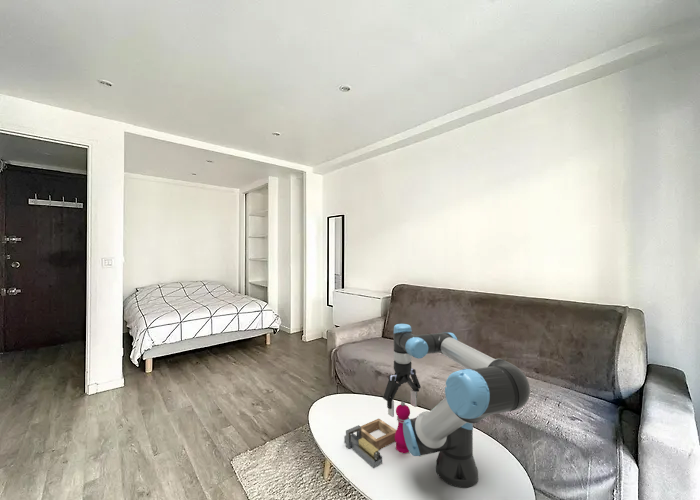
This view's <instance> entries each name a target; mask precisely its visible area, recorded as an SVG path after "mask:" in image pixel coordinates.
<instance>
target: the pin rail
mask: <svg viewBox="0 0 700 500" xmlns="http://www.w3.org/2000/svg"><path fill="white" fill-rule="evenodd" d="M361 426H362V425H360V424H358V425H355V426H354V427H351V428H349V429H347V430H345V435H343V437H344V443H345V448H346V449H348V450H350V449H351V450H352V451H354V452H355V453H356V454H357V455H358V456H359V457H361V458H362V459H363V460H364V461H365V462H366V463H367V464H369V465H370V466H371V467H372V468H373V469H374V468H377V467H378V466H380V465H383V456H382V455H381V454H380V458H379V459H378V460H376V459H375V460H374V459H373V458H372V457H371V456H369V455H368V454H367V453H366V452H365V451H363V450H362V449H361V448H360V447H359V439H361V438H362V428H361ZM355 433H356V434H355Z"/></svg>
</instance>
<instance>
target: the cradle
mask: <svg viewBox="0 0 700 500" xmlns="http://www.w3.org/2000/svg"><path fill="white" fill-rule="evenodd" d="M360 426H361V428H362V438H364V439H365V440H367V441H368V442H369V443H370V444H372V445H373V446H374V447H376V448H377V449H378V450H382V449H383V448H386V447H387V446H389V445H392V444H394V443H396V441H395V433H396V430H397V428H394V427H393V426H391V425H390V424H389V423H386V422H385V421H383V420H382V419H381V418H377V419H374V420H372V421H370V422H367V423H365V424H362V425H360ZM378 430H379V431H380V432H382V433H384V435H382V436H380V437H375V436H373V435H372V433H374V432H376V431H378Z"/></svg>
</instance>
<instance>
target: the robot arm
mask: <svg viewBox="0 0 700 500" xmlns="http://www.w3.org/2000/svg"><path fill="white" fill-rule="evenodd" d="M412 332H413V330H412V326H411V325H410V324H407V323H397V324H395V325H394V326H393V360H394V361H393V370H394V374H393V375H391V374H389V375H388V381H387V385H386V388H385V390H384V393H383V396H382V397H383V398H382V399H383V400H384V401H386V408H387V412H388V413H387V415H388V416H390V417H391V418H395V401H394V398H395V396H396V394H397V392H398V390H399V388H400V387H401V386H402V385H404V384H406V383H407V384H408V386H409V387H410V388H411V389H410V405H411V406H413V407H414V408H417V398H418V392H420V389H421V384H420V381H419V378H418V377H417V371H416V369H415V368H412V360H413V359H412V357H413V358H415V359H423V358H424V357H426V356H427V355H428V354H442V355H443V356H445V357H447V358H448V359H450V360H452V362H454V363H456V364H458V365H459V366H461V367H463V369H459V370H457V371H453V372H452V373H450V374H449V375H448V377H447V378H446V381H445V387H444V395H445V397H444V398H443V399H442V400H441V401H440V402H439V403H437V404H436V406H434V407H433V408H432V409H431V410H428V411H423V412H421V413H419V414H418V415H417V416H416V417H413V418H409V419H407V420H405V421H404V423H403V433H404V438H405V442H406V445H407V448H408V450H409V452H408V453H409V454H410V455H411V456H412V457H422V456H425V455H430V454H435V453H437V454H438V455H437V457H436V461H435V472H436V474H437V476H438V477H439V478H440V479H441V480H442V481H443V482H445V483H446V484H448V485H450V486H452V487H457V488H469V487H473V486H475V484H477V482H478V480H479V471H478V467H477V464H476V461H475V458H474V452H473V451H474V450H473V449H474V448H473V444H474V443H473V440H474V439H473V431H474V426H473V424H478V423H480V422H481V421H483V420H485V419H487V418H488V417H489V416H492V415H496V414H503V413H508V412H513V411H517V410H519V409H521V408H523V407H524V406H525V405H526V404H527V403H528V400H529V399H530V396H531V395H530V394H531V386H530V383H529V380H528V378H527V376H526V375H525V373H524V372H523V370H521V369H520V368H519V367H518V366H516V365H515V364H513V363H511V362H509V361H507V360H505V359H503V358H496V359H495V358H493V357H491V356H490V355H487V354H486V353H483V352H482V351H480V350H478V349H475V348H474V347H471V346H470V345H467V344H466V343H464V342H462V341H459V340H458V338H457V336H456V334H454V333H453V332H446V331H444V332H439V333H436V332H435V333H427V334H413V333H412Z"/></svg>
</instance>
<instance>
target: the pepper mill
mask: <svg viewBox="0 0 700 500" xmlns="http://www.w3.org/2000/svg"><path fill="white" fill-rule="evenodd" d="M395 414H396V415H397V416H396V421H397V423H398V424H397V428H396V433H395V441H396V442H395V449H396V451H397V452H399V453H401V454H408V453H410V452H409V450H408V448H407V445H406V442H405V438H404V433H403V423H404V421H405V420H407V419H410V414H411V410H410V407H409V406H408V405H407V404H406V403H405V402H404V401H401V402H400V404H398V405H397V406H396V409H395Z"/></svg>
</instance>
